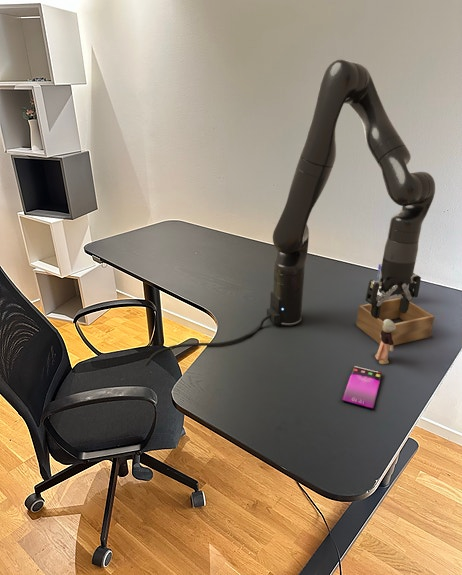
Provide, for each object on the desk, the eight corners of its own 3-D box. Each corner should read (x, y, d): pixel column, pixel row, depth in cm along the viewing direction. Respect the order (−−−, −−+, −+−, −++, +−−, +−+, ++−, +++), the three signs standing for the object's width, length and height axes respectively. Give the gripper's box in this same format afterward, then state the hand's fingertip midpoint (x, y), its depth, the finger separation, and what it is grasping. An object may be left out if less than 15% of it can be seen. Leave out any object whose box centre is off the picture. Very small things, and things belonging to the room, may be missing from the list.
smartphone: (381, 374, 114) (382, 371, 114) (372, 410, 102) (373, 407, 102) (353, 367, 117) (353, 365, 117) (341, 401, 105) (342, 398, 104)
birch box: (384, 347, 126) (387, 326, 123) (356, 325, 138) (358, 305, 135) (430, 336, 131) (434, 316, 128) (399, 316, 143) (403, 297, 140)
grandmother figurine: (368, 354, 123) (374, 314, 118) (380, 352, 124) (387, 312, 119) (384, 369, 116) (391, 328, 111) (396, 367, 117) (404, 326, 112)
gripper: (412, 247, 112) (401, 304, 119) (365, 254, 108) (356, 312, 115) (434, 258, 106) (421, 317, 113) (385, 265, 101) (374, 326, 108)
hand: (388, 314), depth 114 cm, fingers open, 8 cm apart
